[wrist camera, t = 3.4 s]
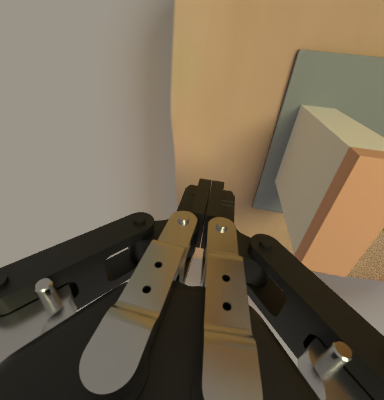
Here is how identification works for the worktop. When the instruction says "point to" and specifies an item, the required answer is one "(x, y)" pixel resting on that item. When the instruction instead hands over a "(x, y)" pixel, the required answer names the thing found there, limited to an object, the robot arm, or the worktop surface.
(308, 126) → the cream and orange block
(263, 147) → the worktop surface
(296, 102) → the slate mat
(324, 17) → the worktop surface
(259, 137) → the worktop surface
